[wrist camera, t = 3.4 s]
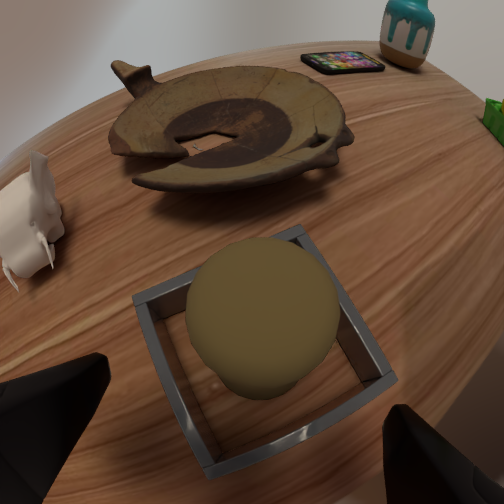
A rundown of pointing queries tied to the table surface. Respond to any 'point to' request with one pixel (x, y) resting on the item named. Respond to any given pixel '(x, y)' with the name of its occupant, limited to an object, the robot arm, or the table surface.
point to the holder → (219, 464)
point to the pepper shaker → (262, 315)
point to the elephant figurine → (29, 220)
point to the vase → (406, 32)
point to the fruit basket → (495, 118)
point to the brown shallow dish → (228, 126)
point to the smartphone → (341, 62)
